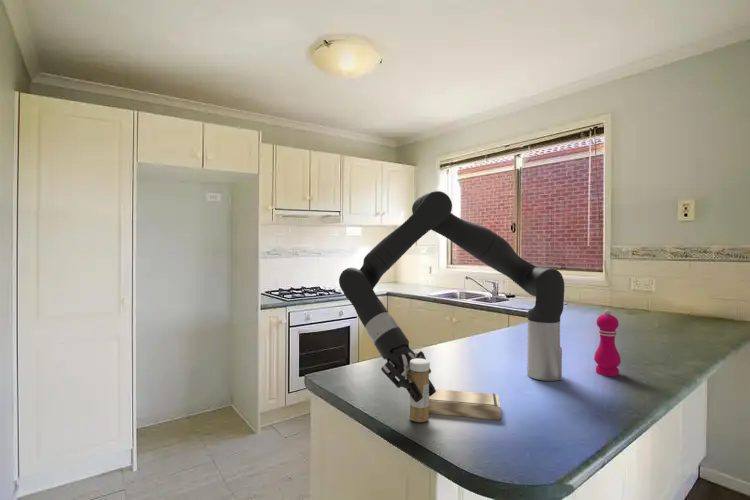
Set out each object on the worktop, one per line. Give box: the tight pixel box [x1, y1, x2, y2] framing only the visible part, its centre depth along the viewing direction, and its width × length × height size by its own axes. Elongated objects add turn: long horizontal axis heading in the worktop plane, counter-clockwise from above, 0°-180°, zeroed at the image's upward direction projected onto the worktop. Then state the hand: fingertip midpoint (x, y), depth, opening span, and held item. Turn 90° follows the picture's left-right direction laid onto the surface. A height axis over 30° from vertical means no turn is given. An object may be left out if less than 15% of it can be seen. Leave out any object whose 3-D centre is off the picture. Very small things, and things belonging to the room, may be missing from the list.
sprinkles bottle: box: [408, 358, 431, 423], centre depth 93 cm, size 5×5×14 cm
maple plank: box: [429, 388, 501, 421], centre depth 99 cm, size 20×8×3 cm, turn 77°
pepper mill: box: [593, 309, 622, 377], centre depth 126 cm, size 7×7×20 cm
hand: (426, 396), depth 91 cm, fingers closed on sprinkles bottle, 4 cm apart
